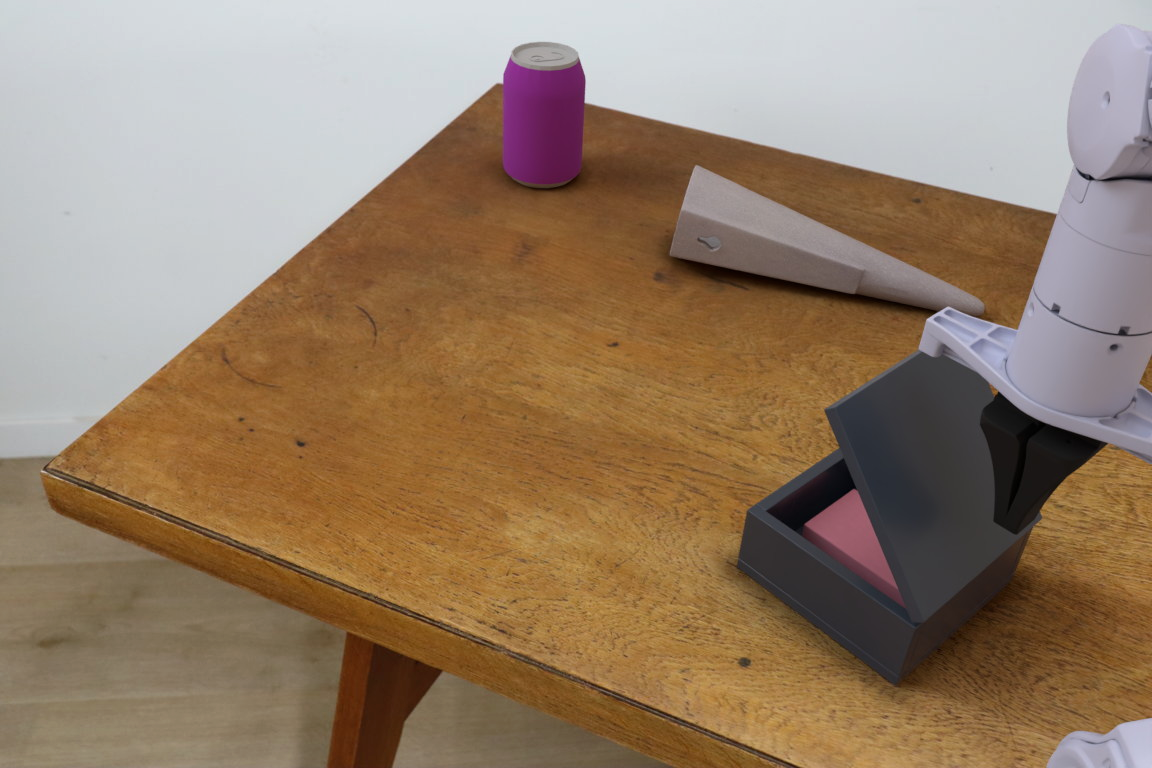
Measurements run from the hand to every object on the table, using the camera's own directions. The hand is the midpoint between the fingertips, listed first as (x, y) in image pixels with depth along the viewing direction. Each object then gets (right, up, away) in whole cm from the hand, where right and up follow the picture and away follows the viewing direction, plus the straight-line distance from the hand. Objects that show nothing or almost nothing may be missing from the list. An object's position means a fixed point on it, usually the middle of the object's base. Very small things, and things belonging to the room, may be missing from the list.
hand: (1013, 519), depth 58 cm
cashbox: (-5, -4, +9) cm, 11 cm away
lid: (-3, +2, +3) cm, 5 cm away
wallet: (-5, -4, +9) cm, 11 cm away
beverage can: (-26, +27, +51) cm, 63 cm away
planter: (-2, +16, +38) cm, 41 cm away
